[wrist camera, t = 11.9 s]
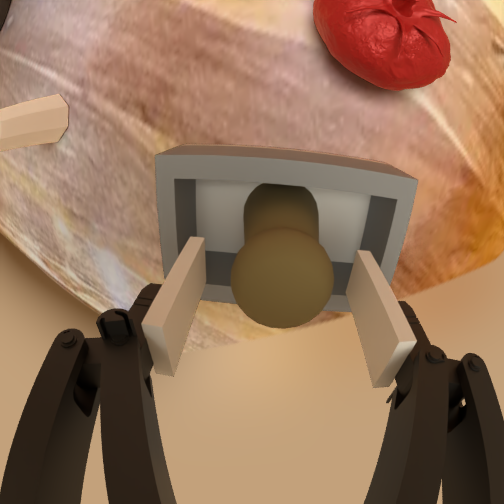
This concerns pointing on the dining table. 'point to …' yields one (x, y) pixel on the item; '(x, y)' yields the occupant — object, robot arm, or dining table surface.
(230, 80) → the dining table surface
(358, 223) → the well block
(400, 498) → the robot arm
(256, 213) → the pepper shaker
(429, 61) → the pomegranate
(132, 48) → the dining table surface
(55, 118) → the pepper shaker
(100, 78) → the dining table surface
